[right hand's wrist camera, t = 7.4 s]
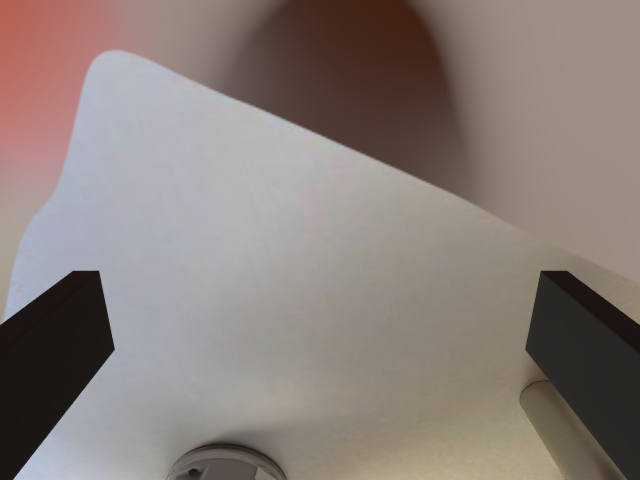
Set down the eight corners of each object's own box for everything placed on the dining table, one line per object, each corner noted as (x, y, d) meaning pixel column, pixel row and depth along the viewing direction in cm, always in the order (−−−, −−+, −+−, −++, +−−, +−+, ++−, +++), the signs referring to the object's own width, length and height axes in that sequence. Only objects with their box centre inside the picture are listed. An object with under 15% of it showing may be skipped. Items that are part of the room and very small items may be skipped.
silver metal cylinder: (544, 419, 48) (648, 579, 33) (511, 404, 47) (601, 560, 32) (570, 390, 47) (693, 544, 31) (537, 374, 46) (645, 523, 30)
